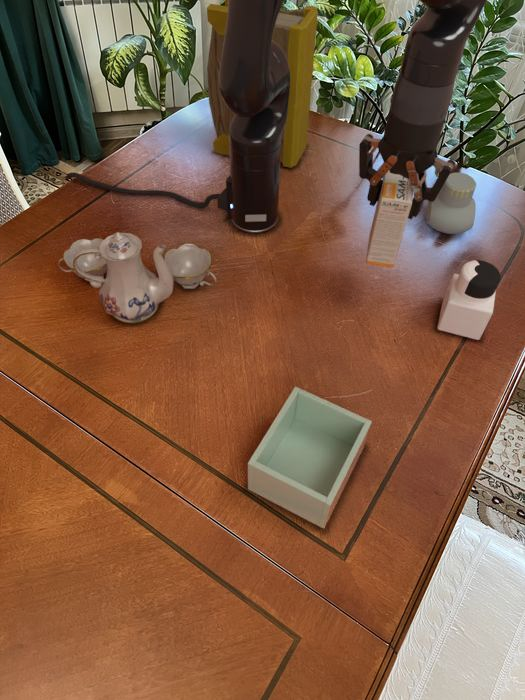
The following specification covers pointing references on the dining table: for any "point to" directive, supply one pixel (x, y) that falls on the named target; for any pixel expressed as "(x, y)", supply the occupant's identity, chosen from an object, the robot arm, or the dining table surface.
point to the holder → (308, 456)
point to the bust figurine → (470, 300)
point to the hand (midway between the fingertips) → (392, 209)
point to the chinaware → (135, 273)
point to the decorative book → (298, 45)
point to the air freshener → (453, 205)
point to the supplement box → (389, 220)
